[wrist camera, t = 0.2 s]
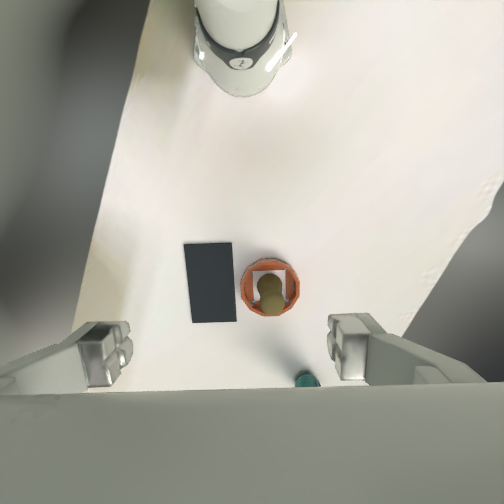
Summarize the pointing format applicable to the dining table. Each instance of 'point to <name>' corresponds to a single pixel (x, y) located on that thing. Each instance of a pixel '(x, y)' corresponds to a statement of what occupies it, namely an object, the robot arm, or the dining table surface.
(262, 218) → the dining table surface
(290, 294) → the orange ring
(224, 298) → the mat
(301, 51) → the dining table surface
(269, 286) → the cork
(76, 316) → the dining table surface
